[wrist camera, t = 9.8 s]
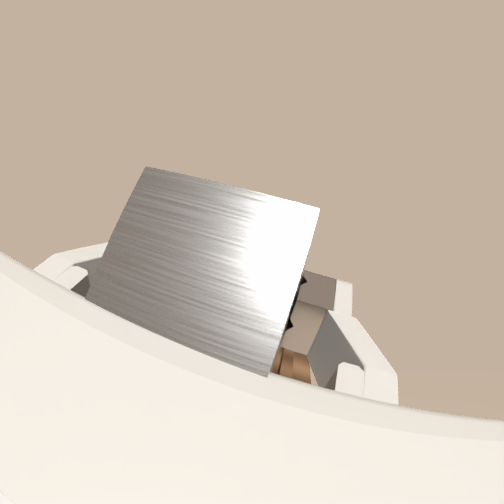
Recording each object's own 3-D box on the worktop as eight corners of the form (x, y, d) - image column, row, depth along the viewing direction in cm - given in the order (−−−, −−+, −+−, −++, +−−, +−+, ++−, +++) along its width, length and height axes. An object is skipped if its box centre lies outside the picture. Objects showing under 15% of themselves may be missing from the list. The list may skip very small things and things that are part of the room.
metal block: (255, 411, 4) (336, 144, 6) (73, 331, 5) (176, 112, 7) (273, 368, 26) (291, 314, 28) (234, 356, 27) (252, 302, 28)
